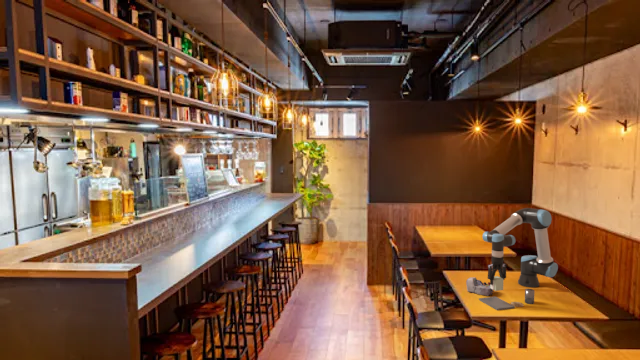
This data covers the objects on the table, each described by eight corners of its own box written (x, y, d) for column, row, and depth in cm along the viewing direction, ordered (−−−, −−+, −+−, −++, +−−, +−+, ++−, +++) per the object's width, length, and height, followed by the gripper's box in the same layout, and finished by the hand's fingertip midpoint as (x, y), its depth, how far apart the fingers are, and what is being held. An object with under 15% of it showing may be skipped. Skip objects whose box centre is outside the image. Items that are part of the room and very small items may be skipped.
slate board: (495, 298, 302) (495, 296, 302) (514, 308, 283) (514, 306, 283) (478, 300, 299) (478, 298, 299) (497, 310, 279) (497, 308, 279)
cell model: (468, 274, 324) (496, 278, 314) (467, 288, 324) (495, 292, 315) (465, 279, 312) (494, 283, 303) (464, 293, 313) (493, 298, 303)
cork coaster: (517, 302, 294) (517, 301, 294) (526, 306, 286) (526, 305, 286) (508, 303, 292) (508, 302, 292) (516, 307, 284) (516, 306, 284)
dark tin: (529, 300, 296) (530, 288, 296) (536, 303, 291) (536, 291, 290) (522, 301, 295) (523, 289, 294) (528, 304, 289) (529, 292, 289)
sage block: (497, 287, 294) (497, 276, 293) (503, 290, 288) (503, 278, 287) (490, 287, 292) (490, 276, 292) (495, 290, 286) (496, 279, 286)
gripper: (505, 253, 294) (504, 285, 296) (482, 255, 290) (481, 288, 291) (512, 256, 287) (511, 289, 289) (489, 258, 282) (488, 291, 284)
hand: (496, 288), depth 290 cm, fingers closed on sage block, 6 cm apart
